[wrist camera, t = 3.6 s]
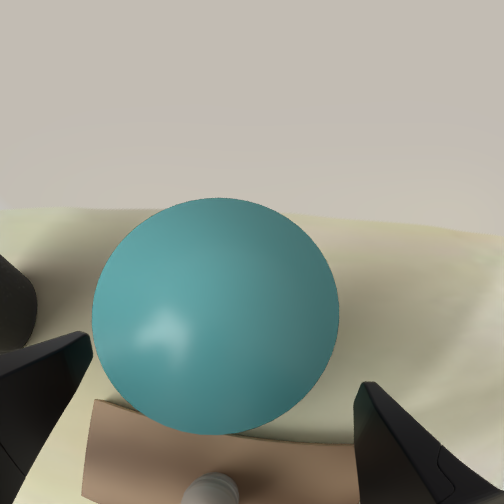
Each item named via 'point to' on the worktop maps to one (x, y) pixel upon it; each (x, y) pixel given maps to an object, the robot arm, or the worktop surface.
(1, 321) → the travel mug
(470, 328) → the worktop surface
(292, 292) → the teal cap
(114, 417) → the brown block with knob
